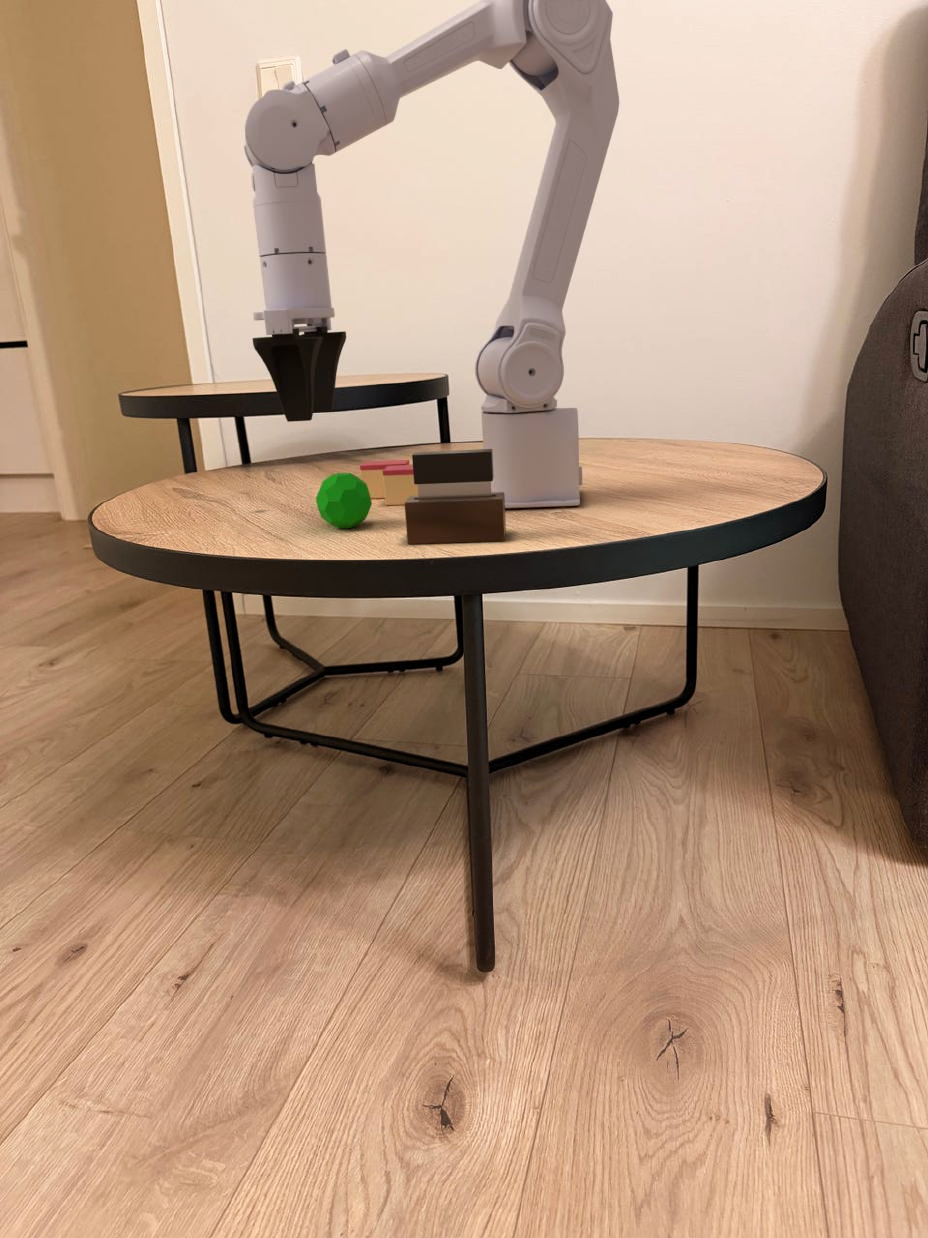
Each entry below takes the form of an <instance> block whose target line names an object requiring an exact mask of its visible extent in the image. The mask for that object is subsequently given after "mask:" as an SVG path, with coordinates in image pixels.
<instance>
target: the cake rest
mask: <svg viewBox="0 0 928 1238" xmlns="http://www.w3.org/2000/svg"><path fill="white" fill-rule="evenodd" d="M383 475H384V476H383V481H384V493H385V498H384V503H385V504H384V505H385V506H400V505H401V506H402V505H403V506H405V501H406V500H407V499H408V498H409V496H415V495H418V484H414V475H413V464H409V465H399V466H387V467H386V468H385V469H384V470H383Z"/></svg>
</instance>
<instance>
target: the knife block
mask: <svg viewBox="0 0 928 1238" xmlns="http://www.w3.org/2000/svg"><path fill="white" fill-rule="evenodd" d="M491 495H492V497H471V498H445V499H419V496H418V495H415V496H409V498H408V499H407V500H406V501H405V505H404V514H405V515H404V516H405V526H406V527H405V528H406V541H407V542H406V543H407V545H424V544H452V543H453V544H454V543H456V544H457V543H483V542H484V543H485V542H505V541H506V536H507V535H506V534H507V521H506V519H507V517H506V508H505V494H504V492H492V493H491Z"/></svg>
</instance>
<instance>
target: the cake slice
mask: <svg viewBox="0 0 928 1238" xmlns="http://www.w3.org/2000/svg"><path fill="white" fill-rule="evenodd" d="M399 465H410V459H394V460H391V459H390V460H371V461H369V460H368V461H367V460H366V461H364V462H363V463H362V464H360V465H359V470H360V479H361V480H362V481H364V482H365V483H366V484H367V487H368V490H369V493H370V497H371V499H385V493H384V481H383V476H384V475H383V470H384V469H385V468H386V467H387V466H399Z"/></svg>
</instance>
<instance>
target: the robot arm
mask: <svg viewBox="0 0 928 1238" xmlns="http://www.w3.org/2000/svg"><path fill="white" fill-rule="evenodd" d="M613 18H614V12H613V11H612V8H611V7H610V5H609V4H608V2H607V0H479V1H477V2H475V3H474V4H472V5H470V6H469V7H467V8H465V9H464V10H461V11H460V12H459V13H457V14H455V15H453V16H451V18H448V19H447V20H446V21H444V22H442V23H441V24H438V25H437V26H435V27H433V28H432V29H430V30H429V31H427V32H425V33H424V34H422V35H420V36H418V37H416V38H415V39H414V40H412V41H410V42H409V43H407V44H405V45H404V46H402V47H401V48H398V49H396V50H395V51H394V52H391V53H390V54H389V55H387V56H385V57H384V56H381V55H378V54H374V53H372V52H369V51H367V50H364V49H363V50H361V49H360V50H359V51H357V52H355V53H353V54H350V53H349V51H348V49H346V48H344V49H342V50H340V51H338V52H337V53H334V54H333V56H332V61H331V62H332V64H333V65H331V66H329V67H327V68H325V69H324V70H321V71H320V72H318V73H316V74H315V75H312V76H311V77H308V78H307V79H306V80H304V81H302V82H299V83H298V84H296V82H294V80H293V79H290V80H289V81H288V82H285V83H284V84H283V85H282V89H280V88H279V89H268V90H267V91H265V93H264V94H263V95H262V97H260V98H259V99H257V100H256V102H255V103H253V104H252V107H251V108H249V111H248V113H247V115H246V119H245V122H244V123H245V124H244V142H245V143H244V146H243V150H244V155H245V157H246V160H247V162H248V164H249V165H250V167H251V168H252V173H251V176H250V180H251V188H252V190H253V192H254V194H255V195H254V197H253V199H252V207H253V214H254V215H253V216H254V222H255V223H254V224H255V231H256V239H257V249H258V256H259V261H260V270H261V281H262V287H263V296H264V304H265V310H264V309H263V311H257V312H256V311H255V312H252V315H253V321H264V328H265V334H266V336H261V337H259V336H258V337H252V345H253V349H254V350H255V351H256V353H257V354H258V356H259V357H260V359H261V361H262V362H263V364H264V366H265V367H266V370H267V371H268V373H269V375H270V378H271V380H272V383H273V386H274V388H275V391H276V393H277V397H278V400H279V403H280V405H281V410H282V412H283V414H284V416H285V419H286V422H287V423H290V422H309V421H312V419H313V416H314V413H328V412H329V413H330V412H333V409H334V402H335V394H336V393H335V392H336V381H337V373H338V366H339V361H340V358H341V355H342V351H343V349H344V346H345V344H346V340H347V331H343V330H342V331H332V321H331V319H332V318H335V317H336V314H335V308H334V307H333V306H332V298H331V297H332V296H331V287H330V277H329V267H328V257H327V249H326V238H325V237H326V236H325V228H324V217H323V208H322V198H321V196H320V194H319V192H318V185H317V175H316V165H315V163H313V162H314V158H315V157H317V156H326V157H328V156H329V157H331V156H333V155H334V154H336V153H338V152H339V151H342V150H343V149H345V148H347V147H349V146H351V145H353V144H355V143H356V142H358V141H360V140H362V139H364V138H365V137H367V136H369V135H371V134H373V133H374V132H377V131H378V130H380V129H382V128H384V127H386V126H388V125H389V124H391V123H393V122H394V120H395V119H396V115H397V111H398V107H399V104H400V100H401V98H404V97H405V96H408V95H409V94H413V92H416V91H418V90H420V89H422V88H424V87H426V86H428V85H431V84H432V83H433V82H436V81H439V80H440V79H442V78H444V77H447V76H448V75H450V74H452V73H454V72H456V71H458V70H461V69H462V68H464V67H466V66H469V65H471V64H473V63H474V62H482V63H483V64H486V65H488V66H490V67H493V68H495V69H497V70H502V69H503V68H505V66H507V64H509V66H510V67H511V69H512V70H513V71H514V72H515V73H516V74H517V75H518V76H519V77H520V78H521V79H523V81H524V82H525V83H527V84H528V85H529V86H530V87H531V88H532V89H533V90H534V91H535V92H536V93H537V94H539V95H540V97H542V99H543V101H544V102H545V104H546V106H547V108H548V109H549V111H550V113H551V114H552V117H553V118H554V120H555V126H554V128H553V132H552V136H551V140H550V144H549V147H548V151H547V154H546V158H545V162H544V166H543V170H542V172H541V177H540V181H539V184H538V188H537V192H536V196H535V199H534V203H533V206H532V210H531V214H530V218H529V221H528V225H527V229H526V233H525V236H524V240H523V243H522V247H521V251H520V255H519V258H518V262H517V266H516V268H515V269H516V270H515V273H514V276H513V281H512V284H511V288H510V292H509V296H508V299H507V300H506V303H505V304H504V306H503V308H502V309H501V311H500V313H499V314H498V317H497V318H496V320H495V324H494V328H493V331H492V333H491V335H490V337H489V338H488V340H487V341H486V343H485V344H483V346H482V347H481V348H480V350H479V351H478V353H477V356H476V359H475V363H474V375H475V379H476V382H477V385H478V386H479V389H481V391H482V392H483V393H484V394H485V395H486V396H485V399H484V401H483V403H482V404H481V405H480V407H481V408H480V409H481V410H480V411H481V430H482V449H492V453H493V475H494V478H493V481H491V493H492V492H504V494H505V509H519V508H521V509H522V508H546V507H549V508H550V507H573V506H576V507H577V506H579V505H580V504H581V503H580V502H581V499H580V498H581V497H580V495H581V494H580V493H581V492H580V486H583V466H581V465H580V441H579V439H580V438H579V437H580V435H579V411H578V408H577V407H558V400H557V399H556V397H555V396H556V395H557V394H558V392H559V390H560V388H561V387H562V384H563V380H564V376H565V367H564V359H563V345H564V342H565V341H564V340H565V337H566V335H567V334H566V331H567V329H566V325H565V320H564V319H565V318H564V313H563V308H564V305H565V301H566V298H567V294H568V292H569V287H570V284H571V280H572V276H573V273H574V270H575V266H576V264H577V263H576V262H577V259H578V255H579V252H580V249H581V245H582V242H583V238H584V234H585V231H586V228H587V223H588V220H589V216H590V215H591V210H592V206H593V203H594V199H595V196H596V192H597V189H598V185H599V182H600V179H601V174H602V171H603V167H604V164H605V160H606V157H607V153H608V150H609V147H610V143H611V139H612V135H613V132H614V129H615V125H616V121H617V118H618V116H619V115H618V114H619V108H620V95H619V88H618V81H617V76H616V75H617V74H616V67H615V62H614V55H613V48H612V42H611V36H612V35H611V34H612V25H613ZM296 325H301V326H296ZM300 333H302V334H300Z"/></svg>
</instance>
